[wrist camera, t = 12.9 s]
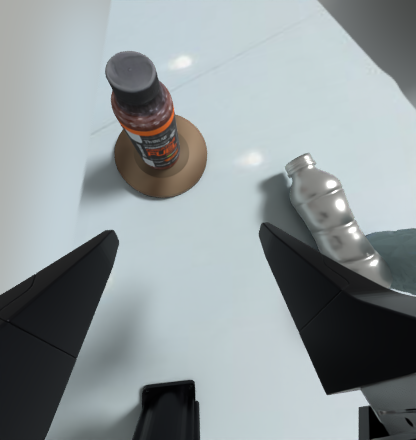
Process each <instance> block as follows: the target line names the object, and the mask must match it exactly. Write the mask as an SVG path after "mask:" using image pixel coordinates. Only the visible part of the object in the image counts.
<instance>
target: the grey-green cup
mask: <svg viewBox="0 0 416 440" xmlns="http://www.w3.org/2000/svg"><path fill="white" fill-rule="evenodd" d="M366 238H367V239H368V241H369V242H370V244H371V245H372V247H373V248H374V250H376V251H377V252H378V253H379V255H380V256H381V257H382V258H383V259H384V261H385V262H386V263H387V265H388V266H389V268H390V271H391V275H392V278H393V281H392V284H391V286H390V288H393V289H396V290H399V291H403V292H408V293H411V294H413V295H416V229H414V228H411V229H402V230H397V231H382V232H375V233H371V234H369V235H367V236H366Z"/></svg>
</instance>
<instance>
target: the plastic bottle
mask: <svg viewBox="0 0 416 440" xmlns="http://www.w3.org/2000/svg"><path fill="white" fill-rule="evenodd" d="M314 165H316V162H315V161H314V160H313V158H312V156H311V154H310V153H306V154H303V155H301V156H299V157H297V158H295V159H294V160H292V161H291V162H289V163H288V164H287V165H286V166H285V170H286V172H287V173H288V177H289V178H292V185H291V189H290V201H291V203H292V205H293V207H295V209H296V211H297V212H298V214H299V215H300V216H301V218H302V219H303V221H304V222H305V224H306V225H307V227H308V229H309V230H310V231H311V233H312V236H313V237H314V239H315V241H316V244H317V246H318V248H319V251H320V253H322V254H324V255H325V256H327V257H329V258H330V259H332V260H334V261H336V262H338V263H339V264H341V265H343V266H345V267H347V268H349V269H351V270H352V271H354V272H356V273H358V274H360V275H362V276H364V277H366V278H368V279H370V280H372V281H374V282H376V283H378V284H380V285H382V286H384V287H386V288H388V289H389V288H390V286H391V284H392V281H393V278H392V275H391V271H390V268H389V266H388V265H387V263H386V262H385V261H384V259H383V258H382V257H381V256H380V255H379V253H378V252H377V251H376V250H374V248H373V247H372V245H371V244H370V242H369V241H368V239H367V238H366V236H365V235H364V234H363V232H362V231H361V229H360V228H359V226H358V224H357V221H356V220H355V219H354V215H353V213H352V211H351V209H350V207H349V204H348V201H347V198H346V195H345V192H344V189H343V188H342V184H341V182H340V180H339V179H338V178H337V177H335V176H334V175H332V174H330V173H328V172H325V171H322V170H320V169H317V168H316V167H315V166H314Z"/></svg>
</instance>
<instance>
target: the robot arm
mask: <svg viewBox="0 0 416 440" xmlns="http://www.w3.org/2000/svg"><path fill="white" fill-rule="evenodd" d="M259 238H260V241H261V244H262V247H263V250H264V254H265V257H266V259H267V261H268V264H269V266H270V268H271V270H272V273H273V275H274V277H275V279H276V282H277V284H278V286H279V288H280V291H281V293H282V295H283V298H284V300H285V302H286V304H287V307H288V309H289V311H290V313H291V316H292V318H293V320H294V322H295V325H296V327H297V329H298V331H299V334H300V336H301V339H302V341H303V343H304V345H305V348H306V350H307V352H308V354H309V357H310V359H311V361H312V363H313V366H314V368H315V370H316V373H317V375H318V377H319V379H320V382H321V384H322V386H323V388H324V390H325V392H326V394H327V395H332V394H338V393H344V392H351V391H357V390H361V391H362V393H363V395H364V396H365V398H366V399H367V401H368V403H369V404H370V405H369V406H363V407H359V440H416V297H414V296H409V295H405V294H401V293H398V292H395V291H393V290H390V289H388V288H386V287H384V286H382V285H380V284H378V283H376V282H374V281H372V280H370V279H368V278H366V277H364V276H362V275H360V274H358V273H356V272H354V271H352V270H351V269H349V268H347V267H345V266H343V265H341V264H339V263H338V262H336V261H334V260H332V259H330V258H329V257H327V256H325V255H324V254H322V253H320V252H318V251H317V250H315V249H313V248H312V247H310V246H308V245H306V244H305V243H303V242H301V241H300V240H298V239H296V238H294V237H293V236H291V235H289V234H288V233H286V232H284V231H282V230H281V229H279V228H277V227H276V226H274V225H272V224H270V223H268V222H265V223H262V224H261V227H260V230H259ZM118 246H119V240H118V237H117V235H116V233H115V231H114V230H106V231H104V232H102V233H101V234H99V235H97V236H96V237H94V238H92V239H91V240H89V241H88V242H86V243H84V244H83V245H81V246H80V247H78V248H76V249H75V250H73V251H72V252H70V253H68V254H67V255H65V256H63V257H62V258H60V259H59V260H57V261H55V262H54V263H52V264H51V265H49V266H47V267H46V268H44V269H43V270H41V271H39V272H38V273H37V274H35V275H33V276H31V277H30V278H28V279H26V280H25V281H23V282H21V283H20V284H18V285H16V286H15V287H13V288H12V289H10V290H8V291H6V292H5V293H3V294H1V295H0V440H44V439H45V437H46V435H47V433H48V431H49V428H50V426H51V423H52V421H53V418H54V415H55V413H56V410H57V408H58V405H59V403H60V400H61V398H62V395H63V393H64V390H65V388H66V385H67V383H68V380H69V377H70V375H71V372H72V370H73V367H74V365H75V362H76V360H77V359H76V358H77V357H78V354H79V352H80V349H81V347H82V344H83V342H84V339H85V336H86V334H87V331H88V329H89V326H90V324H91V321H92V319H93V316H94V314H95V311H96V309H97V306H98V303H99V301H100V298H101V296H102V293H103V291H104V288H105V286H106V283H107V281H108V278H109V275H110V273H111V270H112V268H113V264H114V261H115V257H116V253H117V249H118ZM190 385H192V387H190ZM146 390H147V391H148V392H146ZM132 440H200V418H199V402H198V401H195V382H194V381H193V380H188V381H180V382H171V383H163V384H154V385H147V386H145V387H144V389H143V393H142V411H141V414H140V417H139V420H138V423H137V426H136V429H135V432H134V435H133V438H132Z"/></svg>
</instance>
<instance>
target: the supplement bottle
mask: <svg viewBox="0 0 416 440" xmlns="http://www.w3.org/2000/svg"><path fill="white" fill-rule="evenodd" d="M105 73H106V77H107V80H108V82H109V83H110V85H111V87H112V90H113V91H112V95H111V105H112V109H113V112H114V114H115V116H116V118H117V119H118V121H119V123H120V124H121V126H122V127H123V129H124V131H125V132H126V134H127V136H128V137H129V139H130V140H131V142H132V144H133V145H134V147H135V149H136V150H137V152H138V153H139V155H140V157H141V158H142V160H143V161H144V162H145V163H146V164H147V165H148V166H150V167H152V168H154V169H167V168H170V167H172V166H173V165H174V164H175V163H176V162H177V161H178V159H179V156H180V144H179V138H178V132H177V125H176V119H175V113H174V107H173V102H172V98H171V95H170V93H169V91H168V89H167V88H166V87H165V86H164V85H163V84H162V83H161V82H160V81H159V80H158V77H157V72H156V69H155V66H154V64H153V63H152V61H151V60H150V59H149V58H148V57H147V56H145V55H143V54H141V53H138V52H134V51H125V52H120V53H117V54H115V56H113V57H111V59H110V60H109V61H108V62H107V65H106V69H105Z"/></svg>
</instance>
